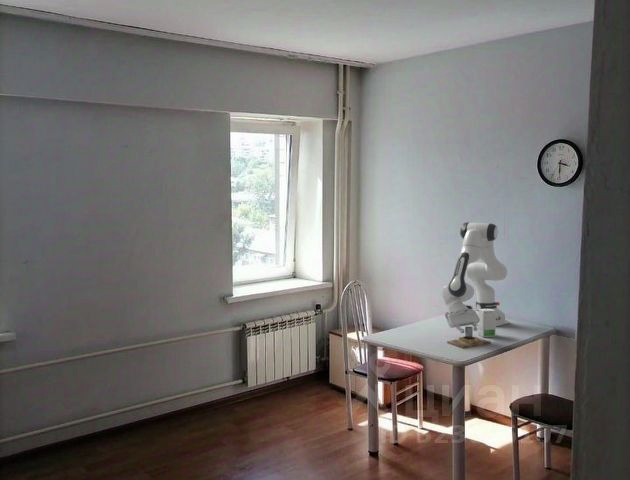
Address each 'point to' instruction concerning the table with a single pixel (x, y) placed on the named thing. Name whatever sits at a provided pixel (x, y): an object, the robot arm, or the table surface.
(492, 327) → the skincare box
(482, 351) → the table surface
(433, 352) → the table surface
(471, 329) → the cylinder
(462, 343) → the collar board
